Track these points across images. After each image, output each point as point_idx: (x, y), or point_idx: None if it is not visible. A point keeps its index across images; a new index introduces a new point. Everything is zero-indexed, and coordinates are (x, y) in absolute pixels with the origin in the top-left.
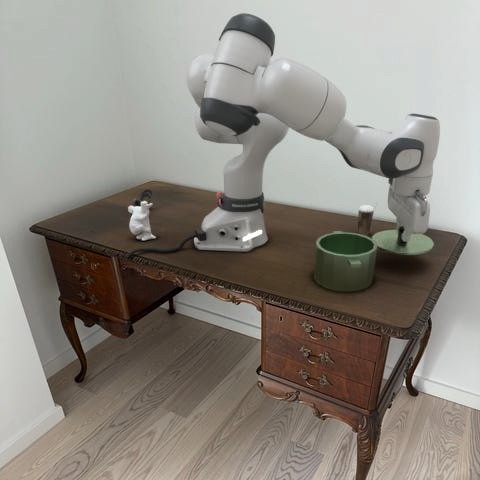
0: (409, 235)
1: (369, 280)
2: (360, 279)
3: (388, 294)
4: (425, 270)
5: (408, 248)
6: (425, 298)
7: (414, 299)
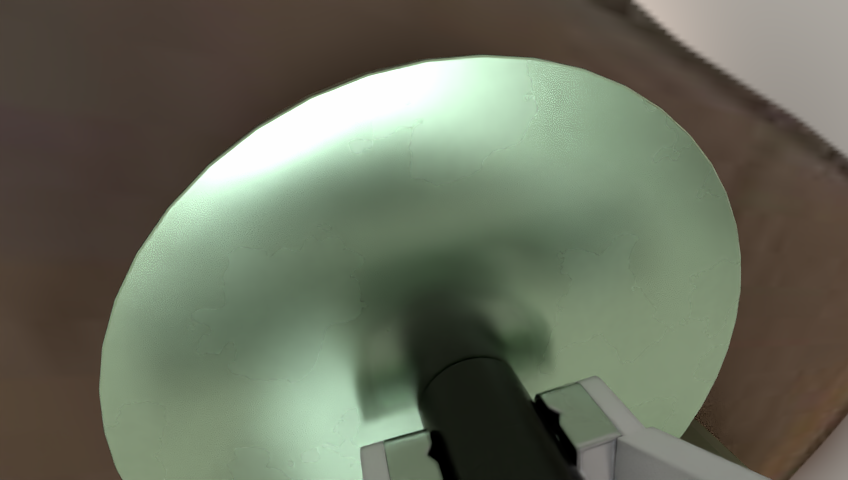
0: (637, 430)
1: (699, 428)
2: None
3: (752, 330)
4: None
5: (650, 347)
6: (833, 174)
7: (822, 226)
